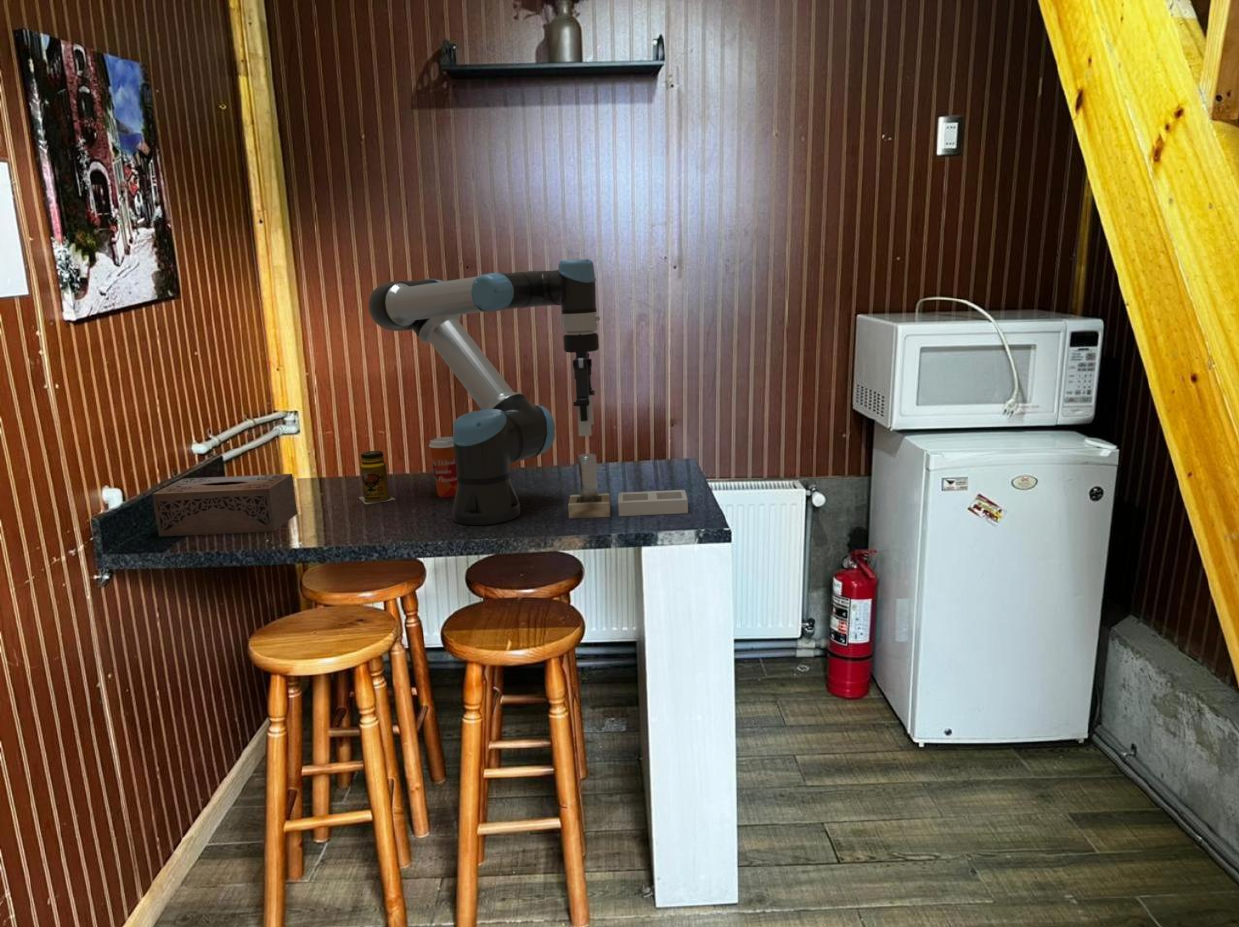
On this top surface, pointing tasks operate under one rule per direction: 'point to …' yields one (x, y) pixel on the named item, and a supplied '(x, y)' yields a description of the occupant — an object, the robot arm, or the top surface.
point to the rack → (652, 503)
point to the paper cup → (444, 466)
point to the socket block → (589, 507)
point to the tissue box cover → (225, 505)
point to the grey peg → (588, 478)
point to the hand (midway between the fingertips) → (586, 430)
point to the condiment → (374, 478)
